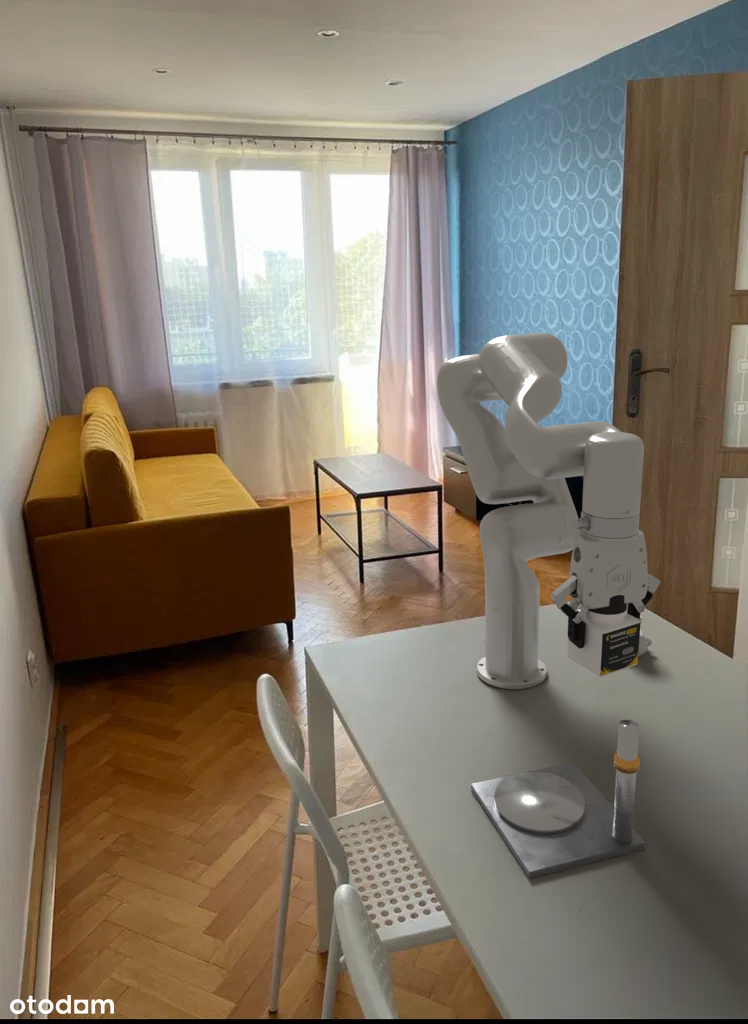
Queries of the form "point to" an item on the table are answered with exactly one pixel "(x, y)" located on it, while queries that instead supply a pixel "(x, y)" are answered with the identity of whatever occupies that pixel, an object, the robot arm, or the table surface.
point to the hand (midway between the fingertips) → (603, 638)
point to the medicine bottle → (608, 639)
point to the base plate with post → (565, 812)
